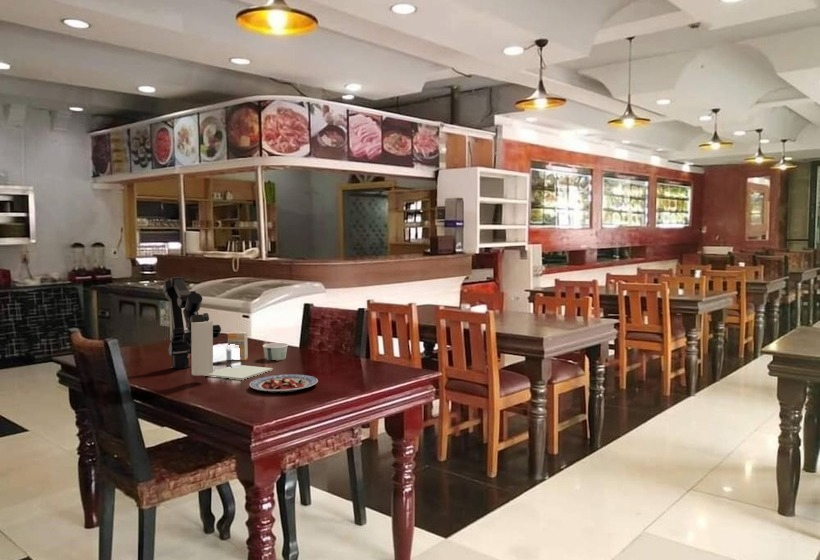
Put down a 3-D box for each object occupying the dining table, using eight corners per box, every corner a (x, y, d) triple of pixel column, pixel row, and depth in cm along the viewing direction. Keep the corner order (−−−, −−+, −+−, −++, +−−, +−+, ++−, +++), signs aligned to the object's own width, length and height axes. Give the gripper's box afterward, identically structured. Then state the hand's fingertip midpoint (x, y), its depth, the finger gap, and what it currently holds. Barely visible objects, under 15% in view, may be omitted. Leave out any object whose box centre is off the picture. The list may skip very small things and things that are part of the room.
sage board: (204, 376, 257) (203, 373, 257) (236, 366, 275) (236, 364, 275) (242, 380, 249) (242, 378, 249) (272, 370, 267) (272, 368, 267)
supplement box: (227, 360, 289) (226, 333, 288) (231, 358, 294) (230, 331, 293) (245, 360, 289) (244, 333, 288) (248, 358, 293) (247, 331, 292)
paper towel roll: (188, 375, 244) (187, 321, 243) (197, 372, 250) (196, 319, 249) (204, 376, 243) (204, 322, 241) (213, 373, 248) (212, 320, 247)
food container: (283, 361, 286) (282, 347, 286) (258, 361, 288) (258, 347, 288) (292, 356, 298) (291, 343, 298) (268, 356, 300) (268, 342, 299)
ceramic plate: (250, 398, 222) (250, 390, 222) (248, 382, 246) (248, 375, 246) (322, 392, 229) (322, 384, 229) (313, 377, 254) (313, 370, 253)
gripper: (171, 308, 242) (179, 340, 234) (219, 305, 253) (228, 335, 244) (167, 325, 249) (175, 357, 241) (214, 321, 260) (222, 352, 251)
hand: (200, 350), depth 244 cm, fingers closed on paper towel roll, 3 cm apart
